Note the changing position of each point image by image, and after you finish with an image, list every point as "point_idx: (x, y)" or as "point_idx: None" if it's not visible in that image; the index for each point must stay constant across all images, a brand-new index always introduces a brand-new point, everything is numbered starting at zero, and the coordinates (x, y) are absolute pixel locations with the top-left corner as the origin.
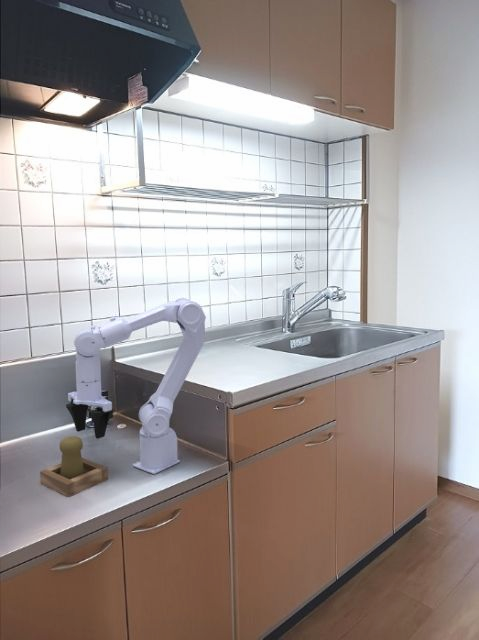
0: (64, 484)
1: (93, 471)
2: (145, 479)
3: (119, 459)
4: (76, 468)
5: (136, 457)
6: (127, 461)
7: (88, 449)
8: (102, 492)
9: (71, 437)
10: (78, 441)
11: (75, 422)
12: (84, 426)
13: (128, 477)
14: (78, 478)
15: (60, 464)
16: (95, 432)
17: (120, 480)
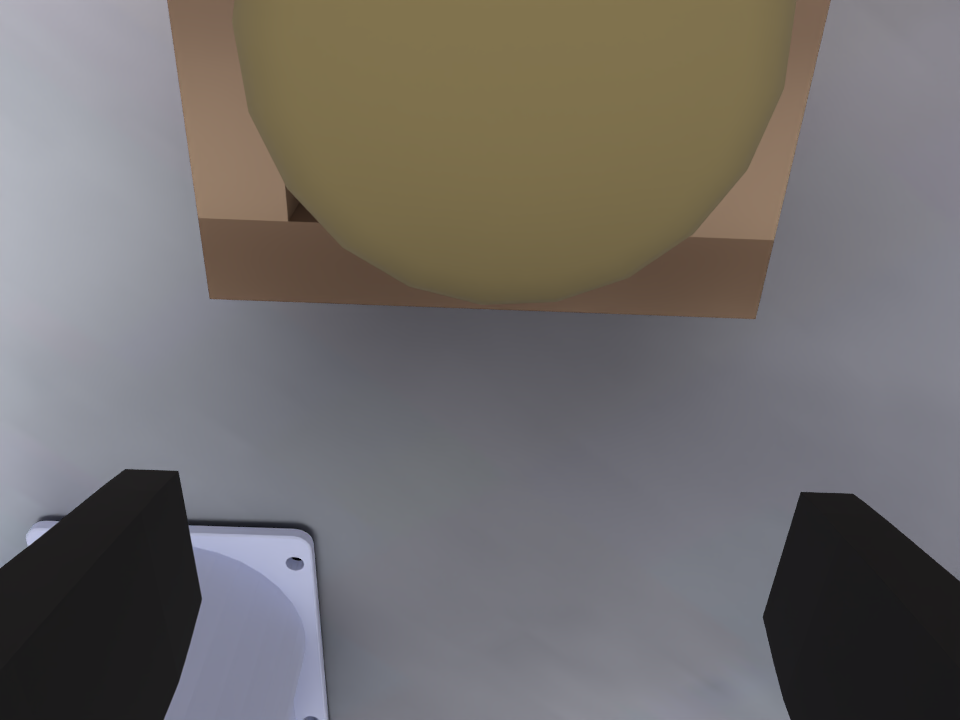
0: None
1: (239, 133)
2: (4, 431)
3: (527, 555)
4: None
5: (438, 638)
6: (436, 564)
7: (946, 547)
8: (13, 7)
9: (544, 119)
10: (271, 124)
11: (944, 636)
12: (787, 665)
13: (147, 379)
14: None
15: (804, 9)
16: (69, 546)
17: (143, 300)
